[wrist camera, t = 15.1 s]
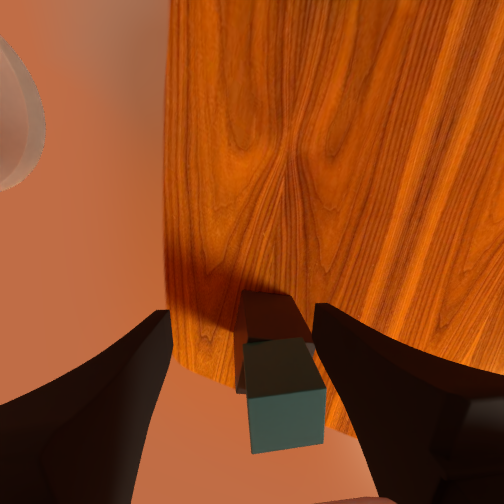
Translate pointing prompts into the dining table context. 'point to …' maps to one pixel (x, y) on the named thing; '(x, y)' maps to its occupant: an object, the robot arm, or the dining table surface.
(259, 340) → the dark brown block
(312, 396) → the teal block
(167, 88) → the dining table surface
